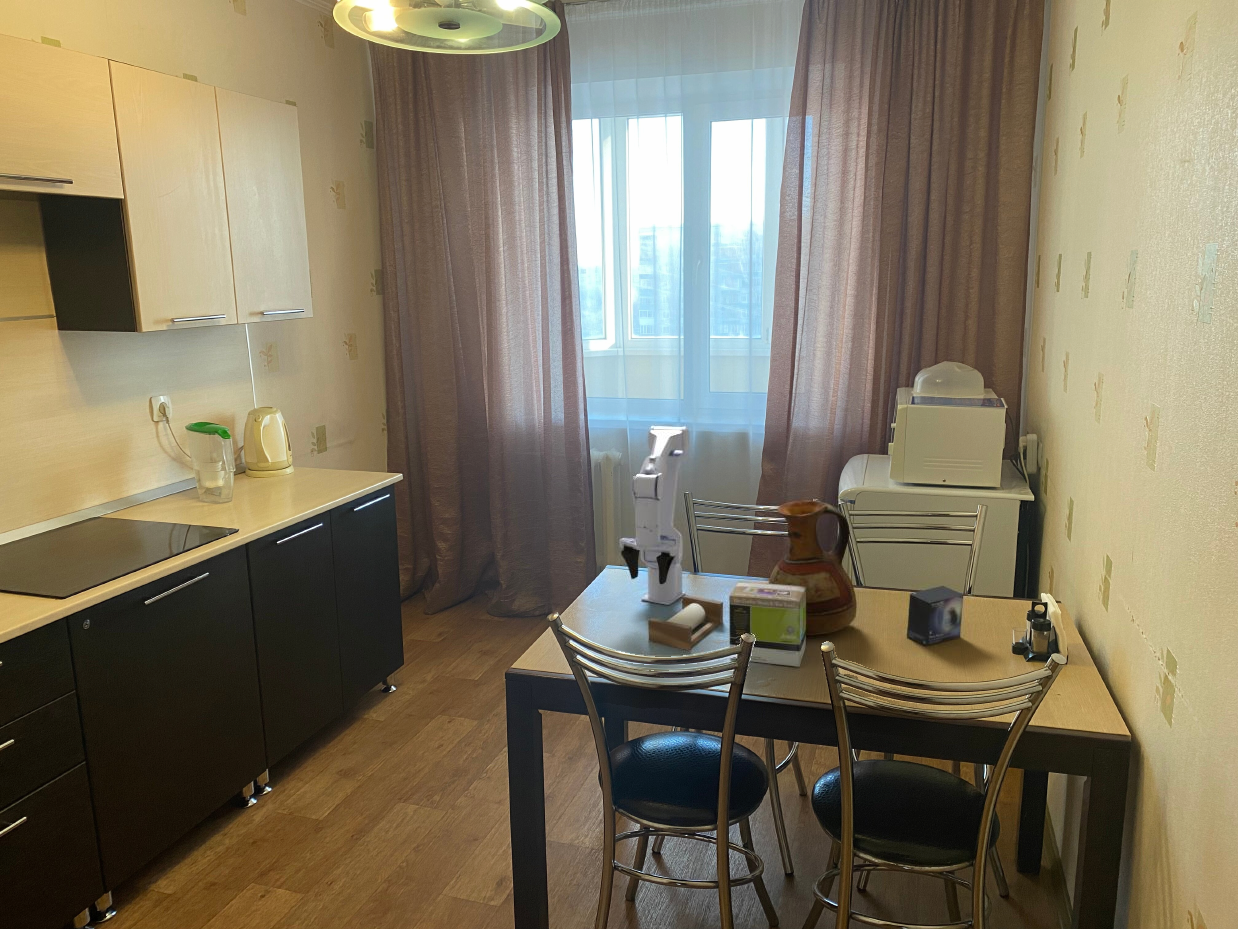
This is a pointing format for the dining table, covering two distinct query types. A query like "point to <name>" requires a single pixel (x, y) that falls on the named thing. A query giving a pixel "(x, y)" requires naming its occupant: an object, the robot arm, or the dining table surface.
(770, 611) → the tea box
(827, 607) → the ceramic pitcher
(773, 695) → the dining table surface
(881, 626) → the dining table surface
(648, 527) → the robot arm
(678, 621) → the cylinder
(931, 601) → the small box
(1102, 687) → the dining table surface
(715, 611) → the holder
